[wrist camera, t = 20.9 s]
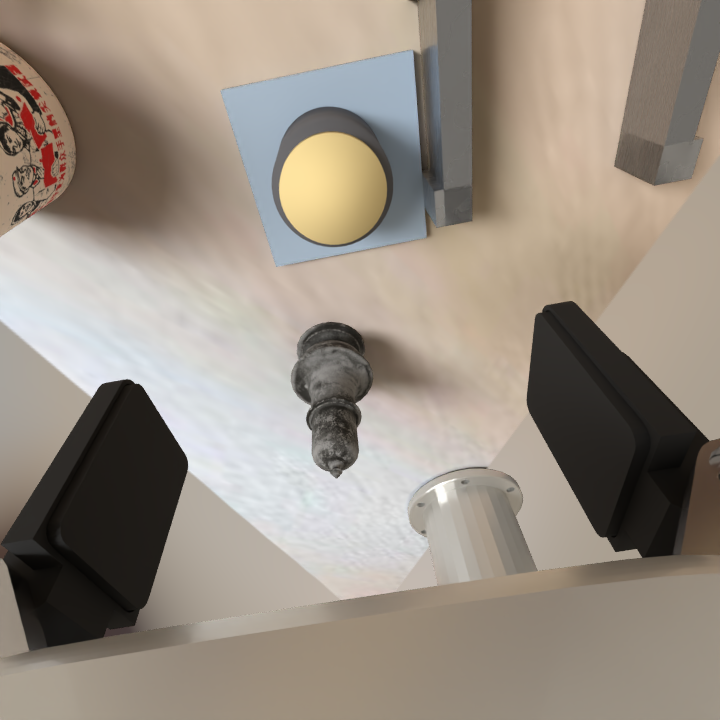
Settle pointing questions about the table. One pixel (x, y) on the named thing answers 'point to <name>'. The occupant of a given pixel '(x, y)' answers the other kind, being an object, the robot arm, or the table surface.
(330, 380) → the dark grey turned post
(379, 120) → the mat
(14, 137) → the teacup with lid
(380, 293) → the table surface
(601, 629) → the robot arm
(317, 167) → the grey and yellow cylinder
